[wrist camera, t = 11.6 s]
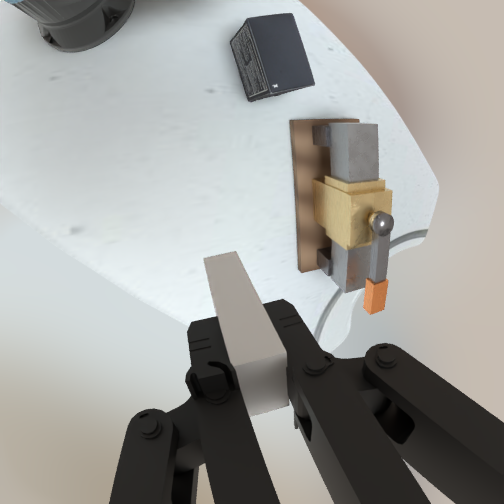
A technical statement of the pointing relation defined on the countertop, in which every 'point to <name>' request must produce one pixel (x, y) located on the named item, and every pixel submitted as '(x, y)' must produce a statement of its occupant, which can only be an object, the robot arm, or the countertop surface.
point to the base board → (309, 188)
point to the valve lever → (378, 262)
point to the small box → (271, 56)
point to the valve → (349, 200)
